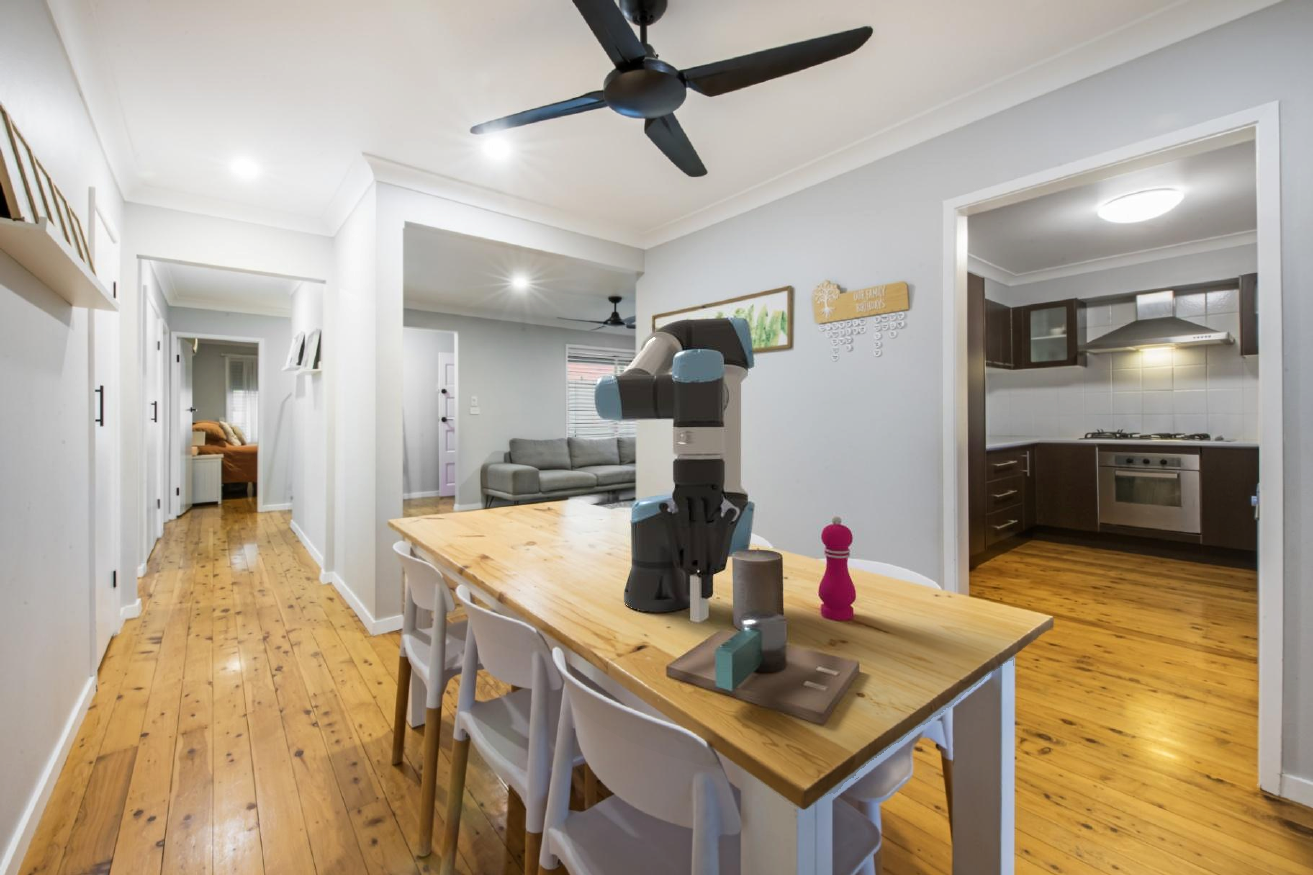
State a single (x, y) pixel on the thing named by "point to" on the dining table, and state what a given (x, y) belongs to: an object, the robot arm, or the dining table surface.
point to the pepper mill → (837, 573)
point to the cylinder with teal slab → (752, 649)
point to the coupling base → (775, 679)
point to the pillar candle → (757, 582)
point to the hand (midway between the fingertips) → (699, 618)
